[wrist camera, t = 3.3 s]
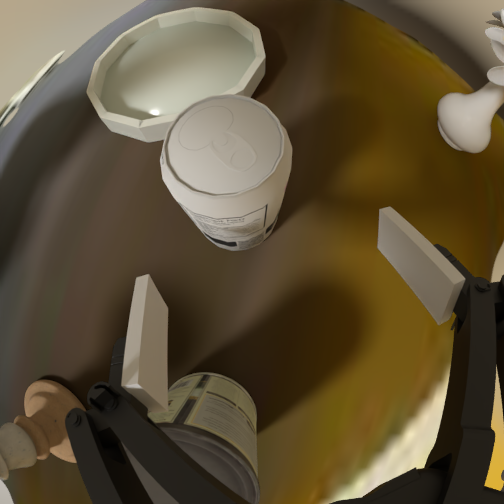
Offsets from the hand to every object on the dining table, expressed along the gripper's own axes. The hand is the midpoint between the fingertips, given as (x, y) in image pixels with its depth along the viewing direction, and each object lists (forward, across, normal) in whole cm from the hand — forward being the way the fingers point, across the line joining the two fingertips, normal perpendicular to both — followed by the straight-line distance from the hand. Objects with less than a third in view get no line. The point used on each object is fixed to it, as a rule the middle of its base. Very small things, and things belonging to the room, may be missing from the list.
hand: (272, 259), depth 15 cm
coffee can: (+1, -10, -19) cm, 21 cm away
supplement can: (+15, -1, -5) cm, 16 cm away
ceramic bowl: (+31, -4, +12) cm, 34 cm away
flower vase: (+18, +32, -2) cm, 37 cm away
